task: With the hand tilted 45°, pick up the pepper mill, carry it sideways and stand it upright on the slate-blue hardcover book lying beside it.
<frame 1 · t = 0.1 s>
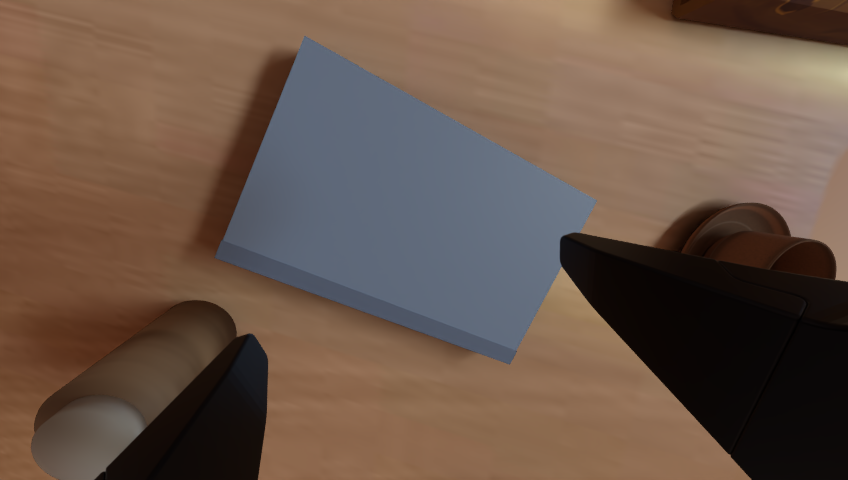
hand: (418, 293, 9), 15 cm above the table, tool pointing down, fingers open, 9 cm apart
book: (416, 219, 25), on the table
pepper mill: (198, 332, 23), on the table
cup and saucer: (712, 263, 31), on the table
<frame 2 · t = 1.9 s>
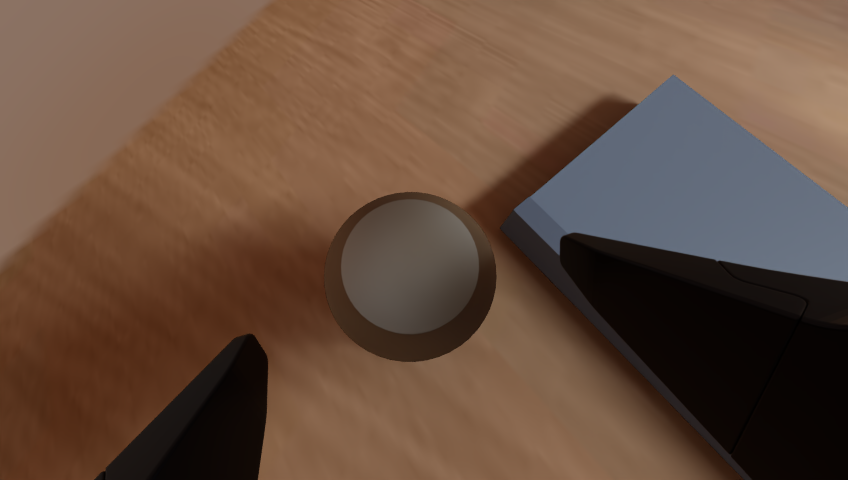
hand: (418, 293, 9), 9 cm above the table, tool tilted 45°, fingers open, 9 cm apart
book: (716, 291, 19), on the table
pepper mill: (412, 304, 18), on the table
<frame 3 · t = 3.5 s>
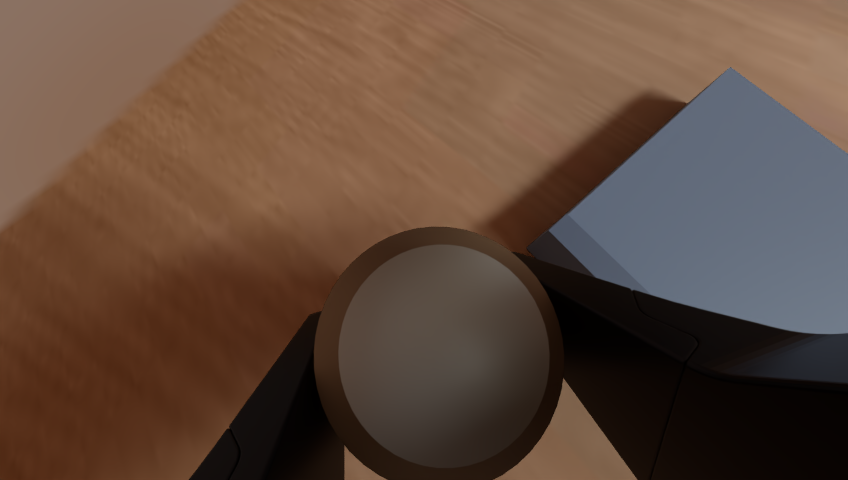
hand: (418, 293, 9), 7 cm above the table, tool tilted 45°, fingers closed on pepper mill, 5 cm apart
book: (781, 323, 16), on the table
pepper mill: (425, 340, 15), on the table, touching gripper
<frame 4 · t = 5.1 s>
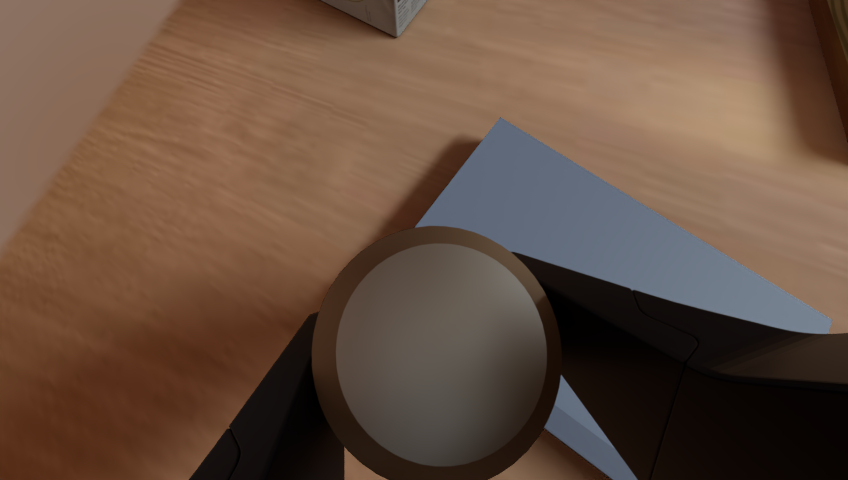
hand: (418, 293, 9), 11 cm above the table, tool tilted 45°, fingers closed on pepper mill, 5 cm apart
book: (575, 309, 21), on the table
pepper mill: (424, 340, 15), point 5 cm above the table, touching gripper
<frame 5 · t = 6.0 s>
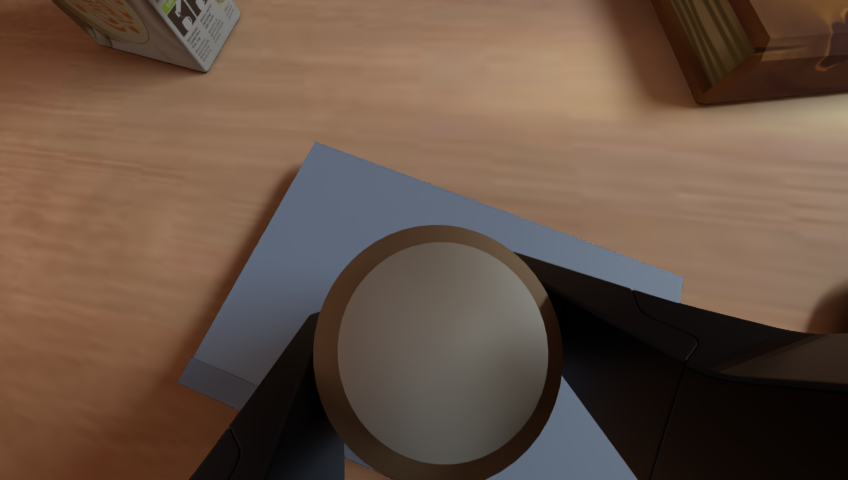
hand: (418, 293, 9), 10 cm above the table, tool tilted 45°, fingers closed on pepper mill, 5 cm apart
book: (443, 327, 19), on the table
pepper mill: (424, 339, 15), point 4 cm above the table, touching gripper
diary: (775, 12, 28), on the table
coffee box: (172, 30, 25), on the table
when the fingers open (10 cm above the table, at t = 6.5 s): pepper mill drops 1 cm, resting on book.
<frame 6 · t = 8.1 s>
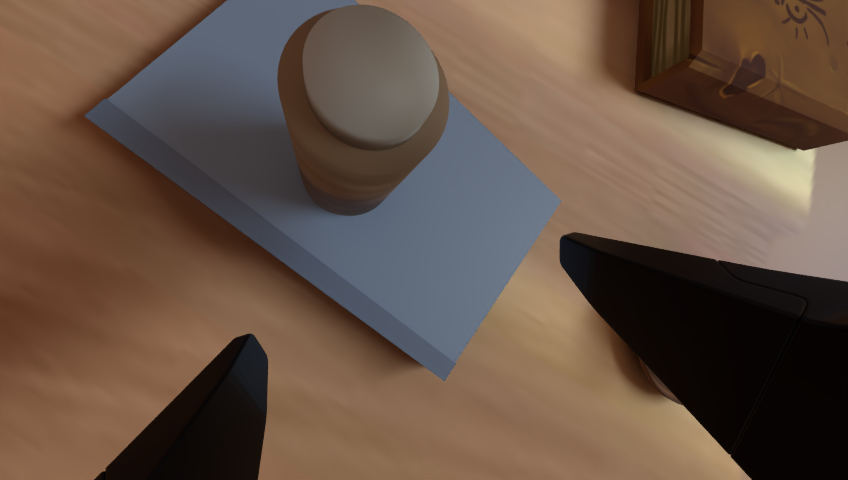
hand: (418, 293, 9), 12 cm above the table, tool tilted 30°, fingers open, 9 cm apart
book: (365, 179, 21), on the table, touching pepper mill
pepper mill: (348, 171, 18), point 3 cm above the table, touching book
cup and saucer: (669, 325, 28), on the table
diary: (719, 42, 33), on the table
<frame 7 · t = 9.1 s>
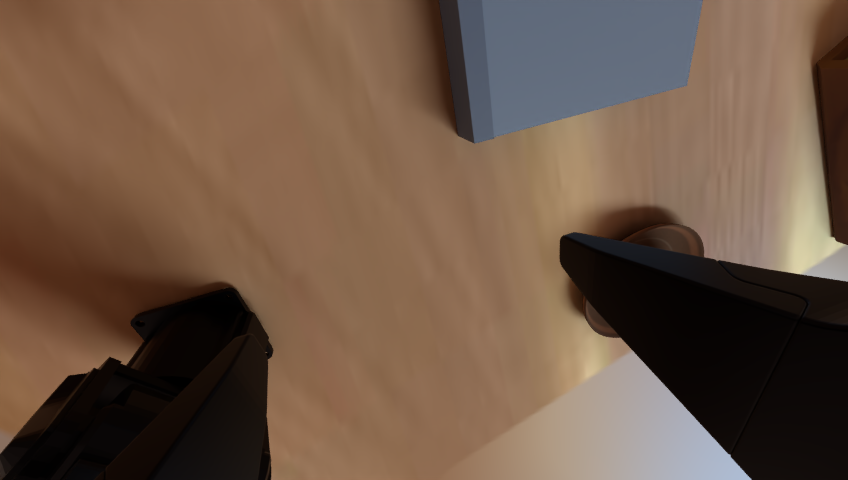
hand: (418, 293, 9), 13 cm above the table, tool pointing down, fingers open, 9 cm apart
cup and saucer: (626, 273, 31), on the table
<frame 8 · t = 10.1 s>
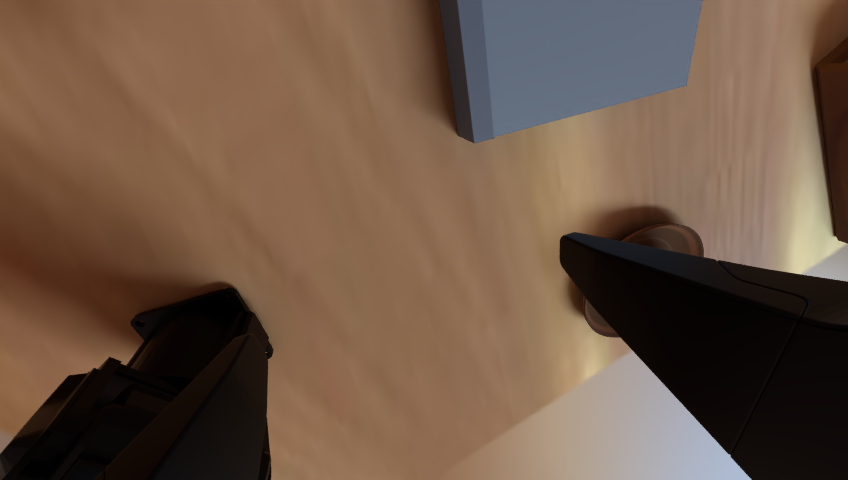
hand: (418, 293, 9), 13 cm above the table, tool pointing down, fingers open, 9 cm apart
cup and saucer: (626, 273, 31), on the table
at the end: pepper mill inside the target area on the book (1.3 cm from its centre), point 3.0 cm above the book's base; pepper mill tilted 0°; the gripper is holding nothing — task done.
